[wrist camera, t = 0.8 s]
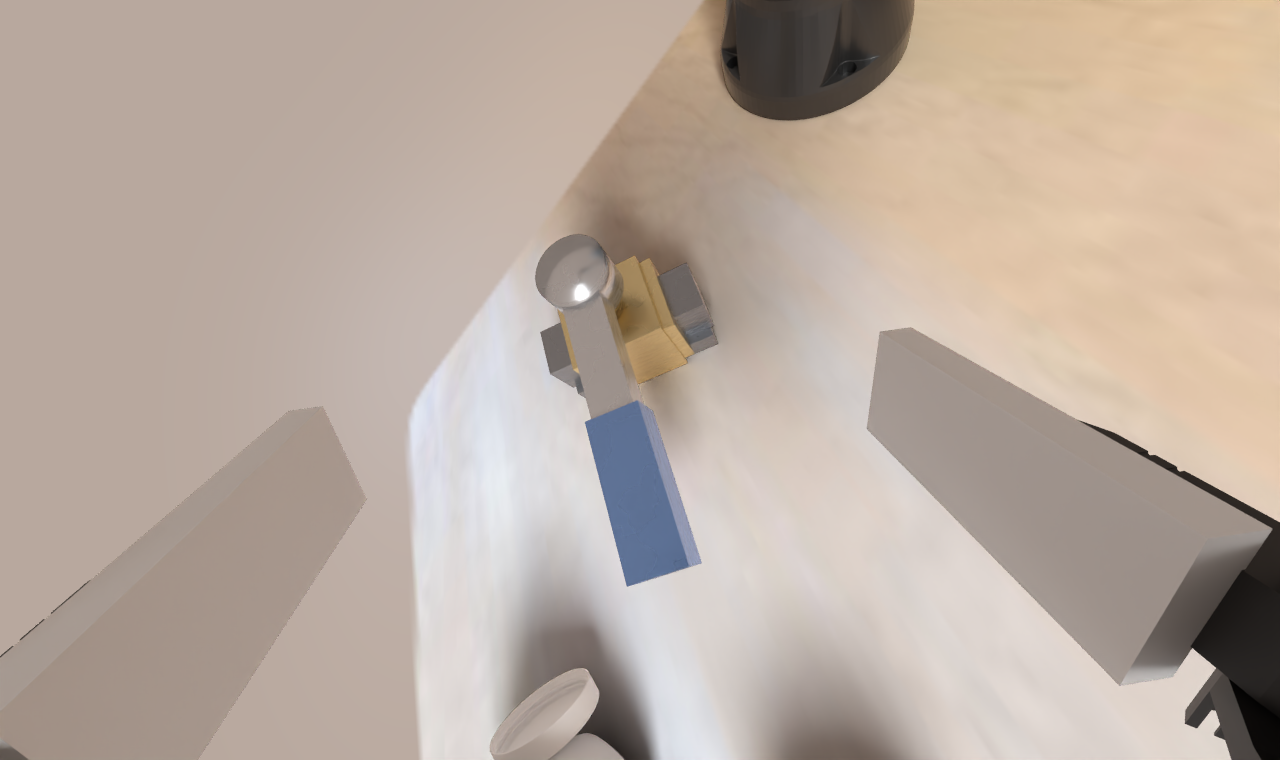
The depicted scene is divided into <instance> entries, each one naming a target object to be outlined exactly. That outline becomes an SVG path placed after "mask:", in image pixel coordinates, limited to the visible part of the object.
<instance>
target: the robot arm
mask: <svg viewBox="0 0 1280 760" xmlns="http://www.w3.org/2000/svg"><path fill="white" fill-rule="evenodd" d="M913 15H914V0H727V1H726V9H725V17H724V24H723V32H722V40H721V62H722V68H723V73H724V78H725V82H726V86H727V88H728V91H729V93H730V94H731V96H732V97H733V99H734V100H735V101H736V102H737V103H738V104H739V105H740V106H742V107H743V108H744V109H746V110H748V111H749V112H752V113H754V114H756V115H759V116H762V117H766V118H771V119H778V120H798V119H806V118H812V117H817V116H821V115H824V114H827V113H830V112H833V111H836V110H839V109H841V108H843V107H845V106H848V105H850V104H851V103H853V102H855V101H857V100H859V99H860V98H862V97H863V96H865V95H867V94H868V93H869V92H871V91H872V90H873V89H875V88H876V87H877V86H878V85H879V84H880V83H882V82H883V81H884V80H885V79H886V78H887V77H888V76H889V75H890V73H891V72H892V71H893V70H894V68H895V67H896V66H897V64H898V63H899V61H900V60H901V58H902V56H903V54H904V52H905V50H906V47H907V44H908V41H909V36H910V31H911V25H912V20H913ZM867 430H868V431H869V432H870V433H871V434H872V435H873V436H874V437H875V438H876V439H877V440H878V441H879V442H880V443H881V444H882V445H883V446H884V447H885V448H886V449H887V450H888V451H889V452H890V453H891V454H892V455H893V456H894V457H895V458H896V459H897V460H898V461H899V462H900V463H901V464H902V465H903V466H904V467H905V468H906V469H907V470H908V471H909V472H910V473H911V474H912V475H913V476H914V477H915V478H916V479H917V480H918V481H919V482H920V483H921V484H922V485H923V486H924V487H925V488H926V490H927V491H928V492H929V493H930V494H931V495H932V496H933V497H934V498H935V499H936V500H937V501H938V502H939V503H940V504H941V505H942V506H943V507H944V508H945V509H946V510H947V511H948V512H949V513H950V514H951V515H952V516H953V517H954V518H955V519H956V520H957V521H958V522H959V523H960V524H961V525H962V526H963V527H964V528H965V529H966V530H967V531H968V532H969V533H970V534H971V535H972V536H973V537H974V538H975V539H976V540H977V541H978V542H979V543H980V544H981V545H982V546H983V547H984V548H985V549H986V550H987V551H988V553H989V554H990V555H991V556H992V557H993V558H994V559H995V560H996V561H997V562H998V563H999V564H1000V565H1001V566H1002V567H1003V568H1004V569H1005V570H1006V571H1007V572H1008V573H1009V574H1010V575H1011V576H1012V577H1013V578H1014V579H1015V580H1016V581H1017V582H1018V583H1019V584H1020V585H1021V586H1022V587H1023V588H1024V589H1025V590H1026V591H1027V592H1028V593H1029V594H1030V595H1031V596H1032V597H1033V598H1034V599H1035V600H1036V601H1037V602H1038V603H1039V604H1040V605H1041V606H1042V607H1043V608H1044V609H1045V610H1046V611H1047V612H1048V613H1049V614H1050V616H1051V617H1052V618H1053V619H1054V620H1055V621H1056V622H1057V623H1058V624H1059V625H1060V626H1061V627H1062V628H1063V629H1064V630H1065V631H1066V632H1067V633H1068V634H1069V635H1070V636H1071V637H1072V638H1073V639H1074V640H1075V641H1076V642H1077V643H1078V644H1079V645H1080V646H1081V647H1082V648H1083V649H1084V650H1085V651H1086V652H1087V653H1088V654H1089V655H1090V656H1091V657H1092V658H1093V659H1094V660H1095V661H1096V662H1097V663H1098V664H1099V665H1100V666H1101V667H1102V668H1103V669H1104V670H1105V671H1106V672H1107V673H1108V674H1109V675H1110V676H1111V677H1112V679H1113V680H1114V681H1115V682H1116V683H1117V684H1118V685H1119V686H1121V685H1127V684H1133V683H1139V682H1146V681H1152V680H1158V679H1164V678H1170V677H1173V676H1174V674H1175V673H1176V671H1177V670H1178V668H1179V667H1180V665H1181V664H1182V662H1183V661H1184V659H1185V658H1186V656H1187V655H1188V653H1189V652H1190V650H1191V649H1192V648H1193V649H1194V650H1195V651H1197V652H1198V653H1199V654H1200V655H1201V656H1203V657H1204V658H1205V659H1206V660H1207V661H1209V662H1210V663H1211V664H1212V665H1213V666H1215V667H1216V669H1215V671H1214V672H1213V673H1212V675H1211V676H1210V678H1209V679H1208V680H1207V682H1206V683H1205V684H1204V686H1203V687H1202V688H1201V690H1200V691H1199V692H1198V694H1197V695H1196V697H1195V698H1194V699H1193V701H1192V702H1191V703H1190V705H1189V706H1188V707H1187V709H1186V712H1185V724H1187V725H1190V726H1192V727H1195V728H1198V726H1199V725H1200V724H1201V723H1202V721H1203V720H1204V719H1205V717H1206V716H1207V715H1208V714H1209V712H1210V711H1211V710H1215V711H1216V713H1217V716H1218V719H1219V722H1220V726H1219V727H1218V728H1217V730H1216V731H1215V732H1214V736H1217V737H1219V738H1222V739H1224V740H1225V741H1226V744H1227V747H1228V750H1229V753H1230V756H1231V759H1232V760H1280V522H1278V521H1276V520H1274V519H1272V518H1271V517H1269V516H1267V515H1265V514H1263V513H1261V512H1260V511H1258V510H1256V509H1254V508H1252V507H1250V506H1248V505H1247V504H1245V503H1243V502H1241V501H1239V500H1237V499H1236V498H1234V497H1232V496H1230V495H1228V494H1226V493H1224V492H1223V491H1221V490H1219V489H1217V488H1215V487H1213V486H1212V485H1210V484H1208V483H1206V482H1204V481H1202V480H1200V479H1199V478H1197V477H1195V476H1193V475H1191V474H1189V473H1187V472H1186V471H1181V472H1179V471H1178V470H1177V467H1176V466H1175V465H1173V464H1171V463H1169V462H1167V461H1165V460H1163V459H1162V458H1160V457H1158V456H1156V455H1149V454H1148V451H1147V450H1145V449H1143V448H1141V447H1139V446H1138V445H1136V444H1134V443H1132V442H1130V441H1128V440H1127V439H1125V438H1123V437H1121V436H1119V435H1117V434H1115V433H1113V432H1111V431H1108V430H1105V429H1102V428H1099V427H1096V426H1093V425H1091V424H1088V423H1085V422H1082V421H1079V420H1076V419H1075V418H1073V417H1071V416H1069V415H1067V414H1066V413H1064V412H1062V411H1060V410H1058V409H1057V408H1055V407H1053V406H1051V405H1049V404H1048V403H1046V402H1044V401H1042V400H1040V399H1039V398H1037V397H1035V396H1033V395H1031V394H1030V393H1028V392H1026V391H1024V390H1022V389H1021V388H1019V387H1017V386H1015V385H1013V384H1012V383H1010V382H1008V381H1006V380H1004V379H1003V378H1001V377H999V376H997V375H995V374H994V373H992V372H990V371H988V370H986V369H985V368H983V367H981V366H979V365H977V364H976V363H974V362H972V361H970V360H968V359H967V358H965V357H963V356H961V355H959V354H958V353H956V352H954V351H952V350H950V349H949V348H947V347H945V346H943V345H941V344H940V343H938V342H936V341H934V340H932V339H931V338H929V337H927V336H925V335H924V334H922V333H920V332H918V331H916V330H915V329H913V328H904V329H897V330H889V331H882V332H880V335H879V342H878V350H877V357H876V364H875V372H874V379H873V387H872V394H871V401H870V409H869V416H868V424H867ZM366 500H367V498H366V496H365V495H364V492H363V490H362V488H361V486H360V484H359V482H358V479H357V477H356V475H355V473H354V471H353V469H352V467H351V465H350V463H349V460H348V458H347V456H346V454H345V452H344V450H343V448H342V446H341V444H340V442H339V439H338V437H337V436H336V433H335V431H334V429H333V427H332V425H331V423H330V420H329V418H328V416H327V414H326V412H325V410H324V408H323V407H314V408H307V409H299V410H292V411H288V412H287V413H286V414H285V415H283V416H282V417H281V418H280V419H279V420H278V421H276V422H275V423H274V424H273V425H272V426H271V427H269V428H268V429H267V430H266V431H265V432H264V433H262V434H261V435H260V436H259V437H258V438H257V439H255V440H254V441H253V442H252V443H251V444H250V445H248V446H247V447H246V448H245V449H244V450H243V451H242V452H240V453H239V454H238V455H237V456H236V457H234V458H233V459H232V460H231V461H230V462H229V463H228V464H226V465H225V466H224V467H223V468H222V469H220V470H219V471H218V472H217V473H216V474H214V475H213V476H212V477H211V478H210V479H209V480H208V481H206V482H205V483H204V484H203V485H202V486H201V487H199V488H198V489H197V490H196V491H195V492H193V493H192V494H191V495H190V496H189V497H188V498H186V499H185V500H184V501H183V502H182V503H181V504H179V505H178V506H177V507H176V508H175V509H174V510H173V511H171V512H170V513H169V514H168V515H167V516H165V517H164V518H163V519H162V520H161V521H160V522H158V523H157V524H156V525H155V526H154V527H153V528H151V529H150V530H149V531H148V532H147V533H145V534H144V535H143V536H142V537H141V538H140V539H138V540H137V541H136V542H135V543H134V544H133V545H132V546H130V547H129V548H128V549H127V550H126V551H124V552H123V553H122V554H121V555H120V556H119V557H117V558H116V559H115V560H114V561H113V562H112V563H110V564H109V565H108V566H107V567H106V568H105V569H103V570H102V571H101V572H100V573H99V574H98V575H96V576H95V577H94V578H93V579H92V580H90V581H88V582H87V583H86V584H84V585H83V586H82V587H81V588H80V589H79V590H77V591H76V592H75V593H74V594H73V595H72V596H70V597H69V598H68V599H67V600H66V601H65V602H63V603H62V604H61V605H60V606H59V607H58V608H56V609H55V610H54V611H53V612H52V613H51V615H50V616H48V618H46V619H43V620H42V621H41V622H40V623H39V624H37V625H36V626H35V627H34V628H33V629H32V630H30V631H29V632H28V633H27V634H26V635H25V636H23V637H22V638H21V639H20V641H19V642H18V643H17V644H16V645H15V646H12V647H11V648H9V649H8V650H7V651H6V652H5V653H4V654H2V655H1V656H0V760H198V759H199V757H200V756H201V755H202V753H203V751H204V750H205V748H206V746H207V745H208V744H209V742H210V741H211V739H212V738H213V736H214V734H215V733H216V731H217V730H218V728H219V727H220V725H221V724H222V722H223V721H224V719H225V718H226V716H227V714H228V713H229V711H230V710H231V708H232V707H233V705H234V704H235V702H236V700H237V699H238V697H239V696H240V694H241V693H242V691H243V690H244V688H245V687H246V685H247V684H248V682H249V680H250V679H251V677H252V676H253V674H254V673H255V671H256V670H257V668H258V667H259V665H260V663H261V662H262V660H263V659H264V657H265V656H266V654H267V653H268V651H269V650H270V648H271V646H272V645H273V643H274V642H275V640H276V639H277V637H278V636H279V634H280V633H281V631H282V630H283V628H284V627H285V625H286V623H287V622H288V620H289V619H290V617H291V616H292V614H293V613H294V611H295V609H296V608H297V606H298V605H299V603H300V602H301V600H302V599H303V597H304V596H305V594H306V593H307V591H308V590H309V588H310V586H311V585H312V583H313V582H314V580H315V578H316V577H317V575H318V574H319V573H320V571H321V569H322V568H323V566H324V565H325V563H326V562H327V560H328V559H329V557H330V556H331V554H332V552H333V551H334V549H335V548H336V546H337V545H338V543H339V542H340V540H341V539H342V537H343V535H344V534H345V532H346V531H347V529H348V528H349V526H350V525H351V523H352V522H353V520H354V519H355V517H356V515H357V514H358V512H359V511H360V509H361V508H362V506H363V505H364V503H365V501H366Z"/></svg>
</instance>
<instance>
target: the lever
mask: <svg viewBox="0 0 1280 760" xmlns="http://www.w3.org/2000/svg"><path fill="white" fill-rule="evenodd" d="M535 281H536V286H537V289H538V291H539V292H540V294H541V295H542V296H543V297H544V298H545V299H546V300H548V301H549V302H550V303H551V304H552V305H553V306H555V307H556V308H557V309H558V310H559V311H560V312H562V313H563V314H564V317H565V321H566V324H567V328H568V332H569V336H570V340H571V344H572V347H573V351H574V355H575V359H576V363H577V366H578V370H579V374H580V378H581V382H582V385H583V389H584V393H585V397H586V401H587V404H588V408H589V412H590V416H591V420H588V421H586V422H585V424H586V428H587V432H588V436H589V440H590V444H591V448H592V452H593V456H594V459H595V463H596V467H597V471H598V475H599V479H600V483H601V487H602V491H603V495H604V499H605V503H606V506H607V510H608V514H609V518H610V522H611V526H612V530H613V534H614V538H615V542H616V546H617V549H618V553H619V557H620V561H621V565H622V569H623V573H624V577H625V581H626V585H627V586H631V585H634V584H638V583H641V582H645V581H648V580H651V579H654V578H657V577H660V576H663V575H666V574H669V573H673V572H676V571H679V570H682V569H685V568H688V567H691V566H694V565H698V564H701V563H702V562H701V559H700V556H699V553H698V550H697V547H696V544H695V541H694V537H693V534H692V531H691V528H690V525H689V522H688V519H687V516H686V513H685V509H684V506H683V503H682V500H681V497H680V494H679V491H678V488H677V485H676V481H675V478H674V475H673V472H672V469H671V466H670V463H669V460H668V457H667V453H666V450H665V447H664V444H663V441H662V438H661V435H660V432H659V429H658V426H657V422H656V419H655V416H654V413H653V411H652V410H651V409H649V408H648V407H647V406H645V405H644V402H643V399H642V396H641V393H640V390H639V386H638V383H637V380H636V377H635V374H634V371H633V367H632V364H631V361H630V358H629V355H628V351H627V348H626V345H625V342H624V339H623V336H622V332H621V329H620V326H619V323H618V320H617V317H616V313H615V309H616V307H617V306H618V304H619V302H620V300H621V298H622V295H623V290H624V281H623V277H622V275H621V273H620V271H619V270H618V268H617V267H616V266H615V265H614V263H613V262H612V261H611V259H610V258H609V257H608V255H607V254H606V253H605V251H604V250H603V249H602V247H601V246H600V245H599V244H598V242H597V241H596V240H594V239H593V238H591V237H589V236H586V235H580V234H577V235H570V236H567V237H564V238H562V239H560V240H558V241H556V242H555V243H554V244H552V245H551V246H550V247H549V248H548V249H547V250H546V251H545V253H544V254H543V255H542V257H541V259H540V261H539V263H538V266H537V269H536V275H535Z"/></svg>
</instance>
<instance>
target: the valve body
mask: <svg viewBox="0 0 1280 760" xmlns="http://www.w3.org/2000/svg"><path fill="white" fill-rule="evenodd" d="M615 266H616V267H617V268H618V270H619V271H620V273H621V275H622V277H623V281H624V290H623V295H622V298H621V300H620V302H619V304H618V306H617V307H616V309H615V313H616V317H617V320H618V323H619V326H620V329H621V332H622V336H623V339H624V342H625V345H626V348H627V351H628V355H629V358H630V361H631V364H632V367H633V371H634V374H635V377H636V380H637V383H638V384H640V383H642V382H645V381H647V380H649V379H652V378H654V377H656V376H659V375H661V374H663V373H666V372H668V371H671V370H673V369H675V368H678V367H680V366H682V365H685V364H687V363H688V362H687V359H686V357H688V356H691V355H693V354H695V353H698V352H700V351H702V350H705V349H707V348H709V347H712V346H714V345H716V344H718V342H717V339H716V337H715V334H714V332H713V330H712V327H713V326H714V324H713V321H712V319H711V316H710V314H709V311H708V309H707V307H706V304H705V302H704V299H703V297H702V294H701V292H700V290H699V287H698V285H697V283H696V281H695V279H694V277H693V275H692V273H691V271H690V269H689V267H688V264H687V263H685V264H683V265H680V266H678V267H676V268H674V269H672V270H670V271H668V272H666V273H664V274H662V275H660V274H659V273H658V271H657V269H656V268H655V266H654V264H653V263H652V261H651V260H650V258H648V259H646V260H644V261H642V262H639V261H638V259H637V258H636V256H633V257H631V258H629V259H627V260H624V261H622V262H620V263H618V264H616V265H615ZM558 313H559V317H560V321H561V323H559V324H557V325H555V326H552V327H550V328H548V329H546V330H544V331H542V332H540V333H541V337H542V341H543V346H544V350H545V354H546V358H547V363H548V367H549V371H550V374H551V375H553V376H555V377H556V378H558V379H560V380H561V381H563V382H565V383H567V384H568V385H570V386H572V387H577V391H578V394H580V395H581V396H583V397H585V393H584V389H583V385H582V382H581V378H580V374H579V370H578V366H577V363H576V359H575V355H574V351H573V347H572V344H571V340H570V336H569V332H568V328H567V324H566V321H565V317H564V314H563V313H562V312H560V311H559V310H558ZM585 398H586V397H585Z"/></svg>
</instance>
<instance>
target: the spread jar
mask: <svg viewBox="0 0 1280 760" xmlns="http://www.w3.org/2000/svg"><path fill="white" fill-rule="evenodd" d="M598 699H599V690H598V688H597V686H596V684H595V682H594V681H593V679H592V677H591V675H590V673H589V671H588V670H587V669H584V668H577V669H573V670H570V671H567V672H565V673H563V674H561V675H559V676H557V677H555V678H553V679H552V680H550V681H548V682H547V683H546V684H544V685H543V686H541V687H540V688H538V689H537V690H536V691H535V692H533V693H532V694H531V695H530V696H528V697H527V698H526V699H525V700H524V701H523V702H521V703H520V704H519V705H518V706H517V707H516V708H515V709H514V710H513V711H512V712H511V713H510V714H509V716H508V717H507V718H506V719H505V720H504V721H503V723H502V724H501V725H500V727H499V728H498V729H497V731H496V732H495V734H494V736H493V738H492V740H491V743H490V752H491V754H492V756H493V758H494V760H625V759H624V757H623V756H622V755H621V754H620V753H619V752H618V751H616V750H615V749H614V748H613V747H612V746H611V745H609V744H608V743H607V742H605V741H604V740H602V739H601V738H599V737H597V736H596V735H593V734H590V733H583V734H580V735H577V736H575V735H576V734H577V733H578V732H579V731H580V730H581V729H582V727H583V726H584V725H585V724H586V722H587V721H588V720H589V718H590V717H591V715H592V713H593V712H594V710H595V708H596V705H597V703H598Z"/></svg>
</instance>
